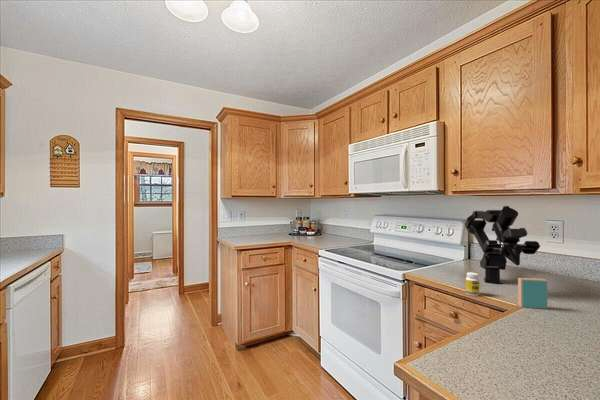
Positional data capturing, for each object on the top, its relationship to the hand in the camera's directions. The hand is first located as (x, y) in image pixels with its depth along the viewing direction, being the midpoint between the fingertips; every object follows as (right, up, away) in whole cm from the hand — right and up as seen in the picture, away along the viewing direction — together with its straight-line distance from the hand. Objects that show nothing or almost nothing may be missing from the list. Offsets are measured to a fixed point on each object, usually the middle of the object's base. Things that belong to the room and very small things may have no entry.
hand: (518, 264), depth 107 cm
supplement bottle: (-15, -13, +5) cm, 20 cm away
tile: (-2, -13, -9) cm, 16 cm away
